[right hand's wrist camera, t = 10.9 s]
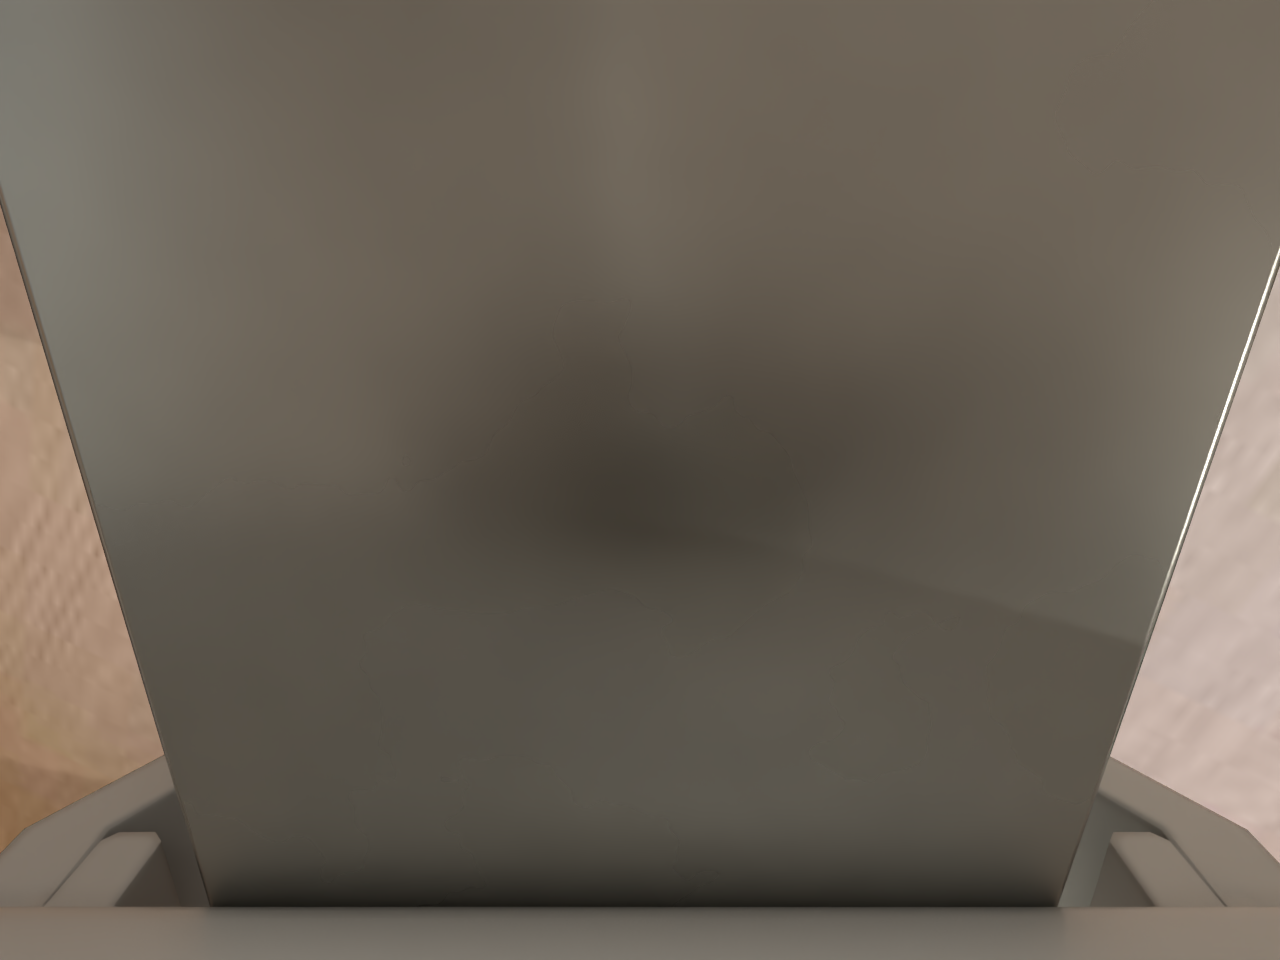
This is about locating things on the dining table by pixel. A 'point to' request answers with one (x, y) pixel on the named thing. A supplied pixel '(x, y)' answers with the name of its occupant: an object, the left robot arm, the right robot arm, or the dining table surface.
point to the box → (641, 420)
